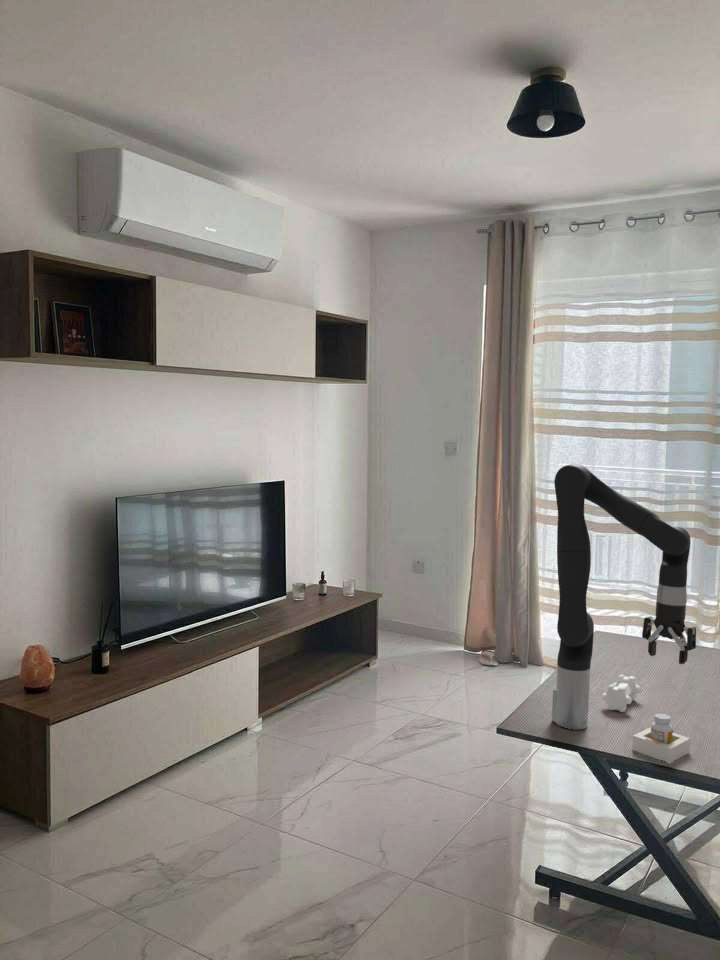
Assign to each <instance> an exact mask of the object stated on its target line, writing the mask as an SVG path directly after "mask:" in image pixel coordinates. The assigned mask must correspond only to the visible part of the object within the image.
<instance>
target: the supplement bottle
mask: <svg viewBox="0 0 720 960" xmlns="http://www.w3.org/2000/svg"><path fill="white" fill-rule="evenodd" d="M653 719H654V721H653V722H652V723H651V726H650V727H651V739H654V740H656V741H659V742H662V743H664V744H667V745H668V744H670V743H672V734H673V733H674V729H673V725H672V724H670V723H671V719H672V718H671V716H670V715H668V714H667V713H666V714H665V713H656V714H654V718H653Z"/></svg>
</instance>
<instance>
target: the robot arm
mask: <svg viewBox="0 0 720 960" xmlns="http://www.w3.org/2000/svg"><path fill="white" fill-rule="evenodd" d="M553 482H554V491H555V498H556V506H557V507H556V509H557V529H556V530H557V533H556V534H557V535H556V536H557V537H556V539H557V541H556V560H557V561H556V562H557V563H556V564H557V580H558V581H557V582H558V592H559V603H558V604H559V605H558V606H559V607H558V616H557V625H556V628H557V629H556V630H557V635H558V637H559V640H560V642H559V650H558V654H557V661H556V662H557V663H556V666H557V667H556V683H555V685H556V686H555V688H554V689H553V691H552V707H551V722H552V721H554V722H555V723H556V724H557V725H556V724H555V723H554V722H553V723H554V724H555V725H556V726H558V725H559V726H558V727H560V726H561V727H560V728H562V727H564V728H563V729H565V728H568V729H567V730H571V729H573V730H574V731H578V730H579V731H581V730H585V729H586V728H587V727H588V720H589V719H588V717H589V715H588V714H589V706H590V705H589V701H590V700H589V699H590V686H591V685H590V683H591V682H590V681H591V680H590V679H591V663H592V662H591V661H592V658H593V648H594V633H595V632H594V631H595V628H594V627H595V625H594V621H593V618H592V616H591V615H590V614H589V613H588V611H587V592H588V587H589V582H590V581H589V580H590V574H591V565H592V556H591V555H592V551H591V540H590V534H589V531H588V526H587V523H586V518H585V500H587V501H590V502H591V503H593V504H594V505H597V506H598V507H600V508H601V509H603V510H604V511H605V512H606V513H608V514H609V515H610V516H611V517H612V518H614V519H615V520H616V521H617V522H619V523H620V524H622V525H623V526H625V527H626V528H628V529H629V530H631V531H633V532H634V533H636V534H638V536H641V537H643V538H645V539H646V540H647V541H649V542H650V543H651V544H652V545H653V546H655V547H656V548H657V549H659V550H660V551H662V559H661V564H660V566H659V571H658V572H659V574H658V585H657V589H656V590H657V591H656V599H655V602H656V603H655V604H656V605H655V618H654V617H653V616H651V615H650V616H646V617H644V619H643V626H642V634H641V637H642V639H645V640H647V642H648V648H647V649H648V650H647V652H648V655H649V656H650V657H654V656H656V654H657V643H658V642H657V640H658V639H659V638H660V637H662V638H667V639H670V640H673V641H674V643H675V644H677V646H678V647H679V654H678V655H679V656H678V657H679V658H678V659H679V660H678V664H679V665H684V664H686V663H687V662H688V656H689V654H688V653H689V651H693V650H696V648H697V627H695V626H691V627H690V626H686V625H685V620H686V610H687V600H688V599H687V595H688V594H687V581H688V563H689V556H690V549H691V536H690V534H689V532H688V531H687V530H686V529H685V528H683V527H682V526H681V527H680V526H672V525H670V524H669V523H667V522H665V521H663V520H662V519H661V518H660V517H659V515H657V514H656V513H655V512H653V511H651V510H649V509H648V508H646V507H645V506H642V505H641V504H639V503H638V502H636V501H634V500H633V499H631V498H628V497H627V496H625V495H623V494H622V493H620V492H619V491H617V490H615V489H613V488H612V487H610V486H609V485H608V484H606V483H605V482H604V481H602V480H601V479H600V478H598V477H597V476H596V475H595V474H594V473H593V472H591V470H589V469H587V467H585V466H584V465H582V464H578V463H571V464H567V465H563V466H562V467H560V468H559V470H558V471H557V472H556V474H555V475H554V481H553ZM652 626H654V627H655V628H656V629H655V630H654V631H653V632H652V629H653V627H652ZM684 632H685V635H686V637H685V635H684Z"/></svg>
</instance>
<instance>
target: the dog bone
mask: <svg viewBox="0 0 720 960" xmlns="http://www.w3.org/2000/svg"><path fill="white" fill-rule="evenodd" d="M606 690H607V691H606V692H604V693H602V695H601V697H602V700H603V701H605V703H606V705H607V706H606V707H607V709H608V710H609V711H619V713H621V712H623V713H625V711H626V710H627V705H631V704H632V702H634V701H635V700H636V697H637V694H640V693H641V692H642V688H641V686H640V685H639V684H638V683H637V678H636V677H635V676H631V675H630V676H625V675H624V674H619V675H618V677H617V681H616V682H613V683H612V684H609V685H608V686H607V689H606Z"/></svg>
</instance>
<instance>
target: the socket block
mask: <svg viewBox="0 0 720 960" xmlns="http://www.w3.org/2000/svg"><path fill="white" fill-rule="evenodd" d="M690 748H691V738H690V737H687V736H684V735H682V734H679V733H675V732H673V734H672V743H670V744H668V745H667V744H664V743H662V742H659V741H656V740H654V739H651V726H650V727H648V728H646V729H644V730H642V731H640V732H638V733H636V734H634V735H632V749H631V750H632V751H633V752H636V751H637V753H638V754H639V753H640V754H642V755H645V756H647V755H648V756H647V757H650V758H653V759H657V760H658V759H659V761H661V760H663V761H662V762H664V761H667V762H672V761H674V760H675V759H678V758H679V759H681V758H683V757H685V756H686V754H687V753H688V754H690V752H691V751H690V750H691V749H690ZM688 754H687V755H688ZM684 755H685V756H684ZM682 756H683V757H682ZM680 757H681V758H680ZM679 759H678V760H679ZM667 762H666V763H667ZM674 762H675V761H674ZM672 763H673V762H672Z"/></svg>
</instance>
